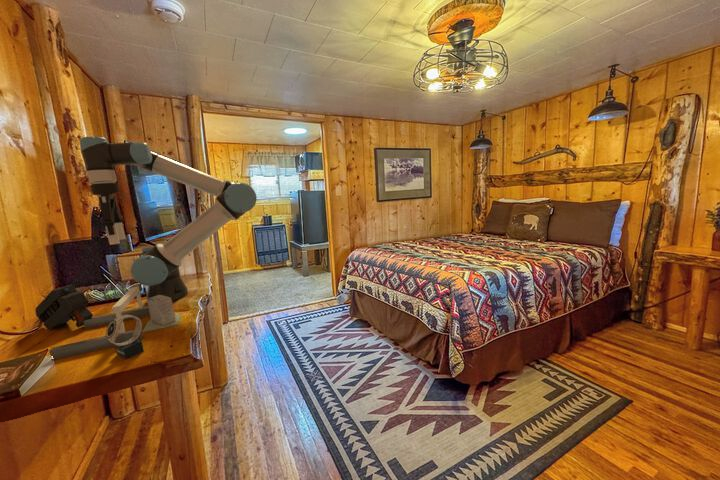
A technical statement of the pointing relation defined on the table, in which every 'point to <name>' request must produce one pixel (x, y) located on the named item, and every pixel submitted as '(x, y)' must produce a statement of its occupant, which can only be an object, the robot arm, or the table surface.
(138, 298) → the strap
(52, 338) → the table surface
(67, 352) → the rails
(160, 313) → the medicine box
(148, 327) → the mat
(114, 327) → the watch
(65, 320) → the tool
